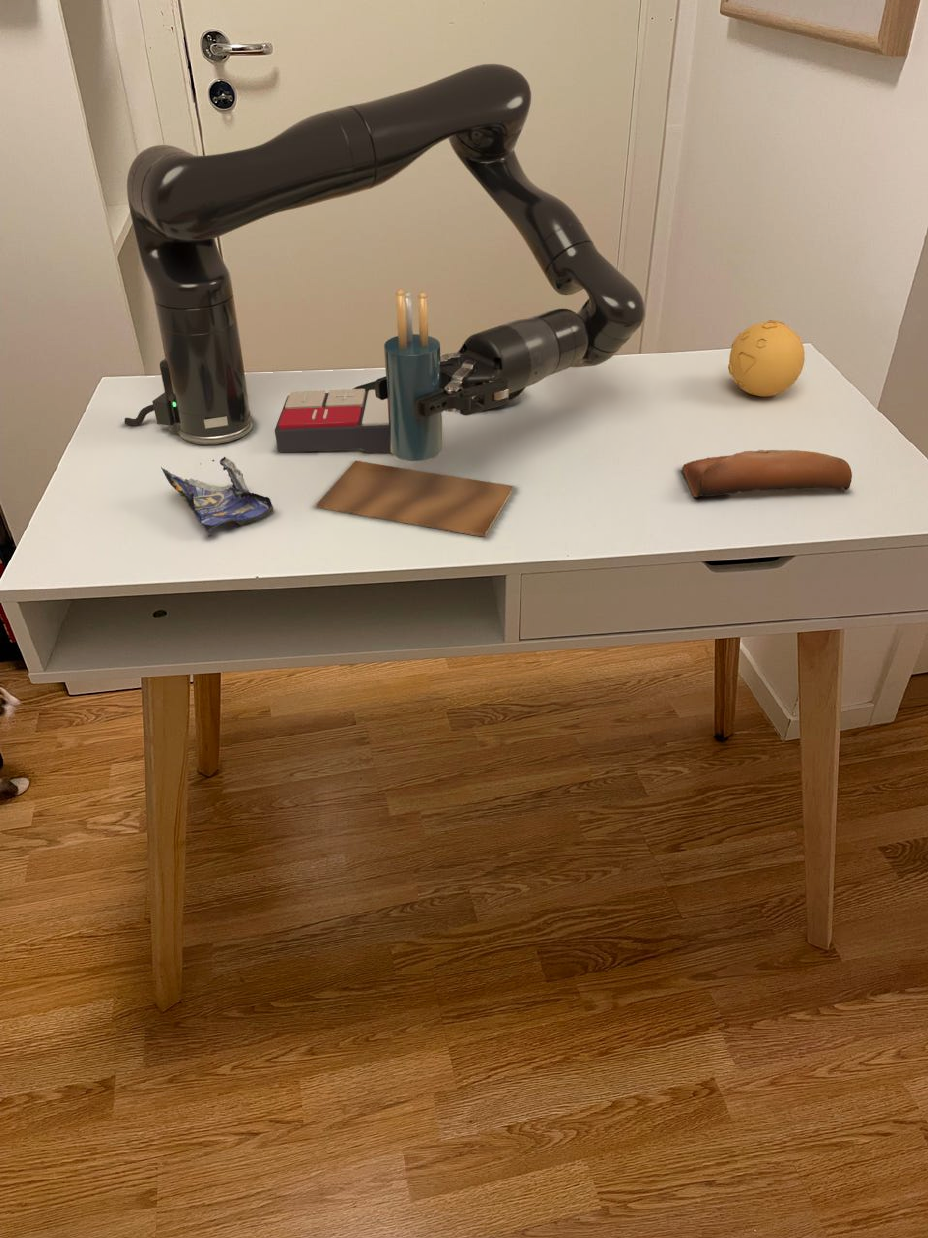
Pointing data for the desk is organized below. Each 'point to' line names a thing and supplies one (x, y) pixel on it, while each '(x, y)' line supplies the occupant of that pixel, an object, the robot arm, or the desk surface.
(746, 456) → the sunglasses case
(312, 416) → the calculator
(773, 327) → the stress ball
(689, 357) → the desk surface
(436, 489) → the brown wooden board
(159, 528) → the desk surface
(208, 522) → the snack package
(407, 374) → the cutlery holder
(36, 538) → the desk surface
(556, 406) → the desk surface
